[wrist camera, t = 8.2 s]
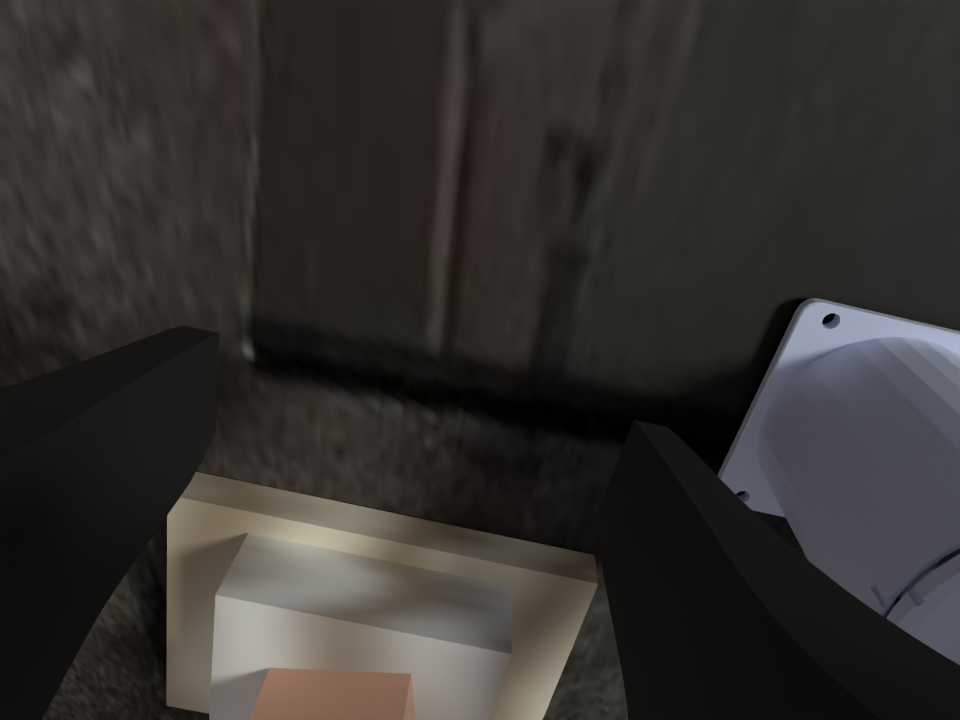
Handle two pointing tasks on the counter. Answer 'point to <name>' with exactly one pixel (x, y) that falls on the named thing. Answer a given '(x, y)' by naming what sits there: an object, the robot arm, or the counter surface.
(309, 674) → the cube
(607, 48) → the counter surface
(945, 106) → the counter surface
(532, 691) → the base
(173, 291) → the counter surface
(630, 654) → the robot arm
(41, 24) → the counter surface
